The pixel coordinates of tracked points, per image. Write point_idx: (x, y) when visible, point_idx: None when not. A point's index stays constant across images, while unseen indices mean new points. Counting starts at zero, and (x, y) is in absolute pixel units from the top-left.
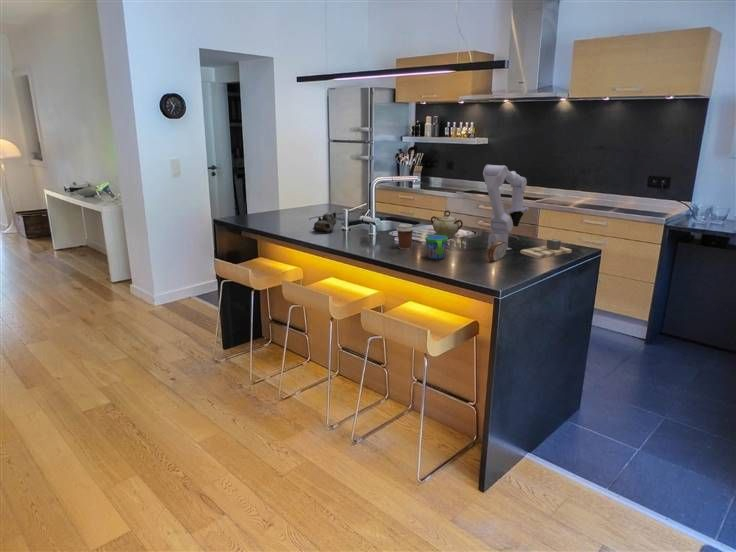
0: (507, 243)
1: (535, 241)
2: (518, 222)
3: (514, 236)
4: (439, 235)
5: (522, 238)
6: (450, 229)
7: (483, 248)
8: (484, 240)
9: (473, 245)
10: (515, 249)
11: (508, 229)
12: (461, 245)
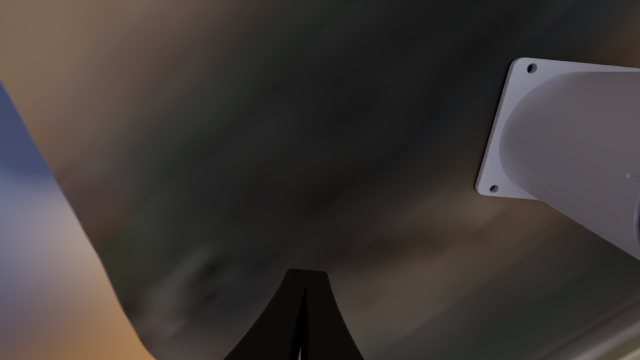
0: (596, 79)
1: (112, 143)
2: (287, 305)
3: (156, 324)
4: None
5: (143, 261)
6: None
7: None
8: (406, 356)
9: (578, 314)
10: (472, 46)
11: None
12: (629, 351)
